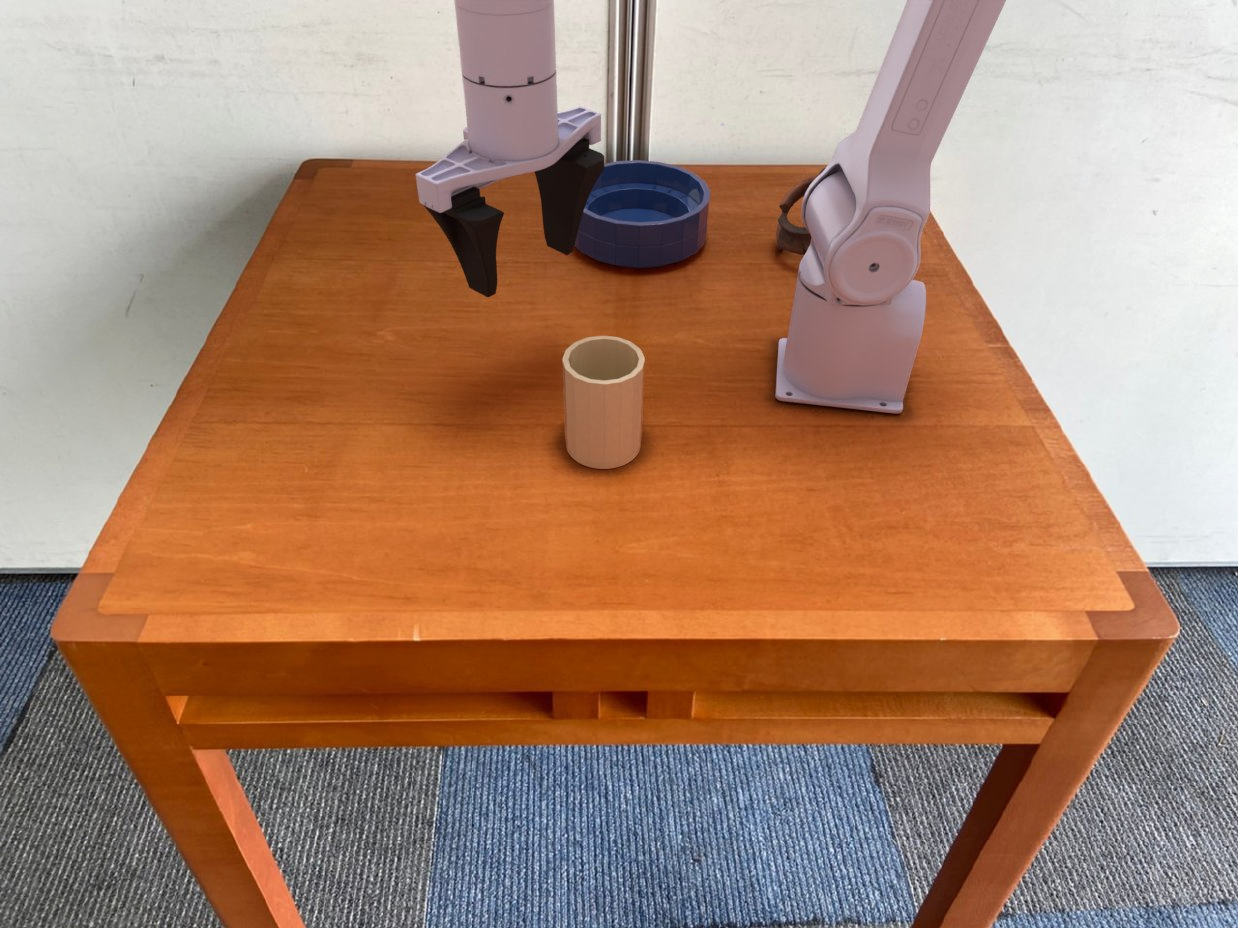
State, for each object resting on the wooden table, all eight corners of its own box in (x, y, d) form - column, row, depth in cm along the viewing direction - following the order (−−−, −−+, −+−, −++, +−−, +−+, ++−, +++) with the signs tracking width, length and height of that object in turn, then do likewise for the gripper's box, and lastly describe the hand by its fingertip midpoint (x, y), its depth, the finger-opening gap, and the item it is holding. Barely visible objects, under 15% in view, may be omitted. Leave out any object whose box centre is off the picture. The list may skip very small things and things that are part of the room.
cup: (645, 424, 67) (649, 340, 62) (634, 473, 63) (637, 387, 58) (574, 416, 67) (571, 331, 62) (558, 464, 63) (555, 378, 58)
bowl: (711, 214, 91) (715, 166, 88) (698, 281, 82) (703, 231, 78) (583, 202, 93) (582, 155, 89) (555, 267, 83) (553, 217, 80)
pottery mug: (895, 281, 83) (873, 218, 77) (795, 310, 87) (767, 253, 81) (879, 192, 90) (857, 128, 83) (786, 223, 93) (760, 164, 87)
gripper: (546, 28, 61) (553, 215, 70) (370, 86, 53) (405, 289, 62) (625, 53, 57) (622, 245, 66) (451, 118, 49) (474, 328, 58)
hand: (522, 269), depth 64 cm, fingers open, 7 cm apart
